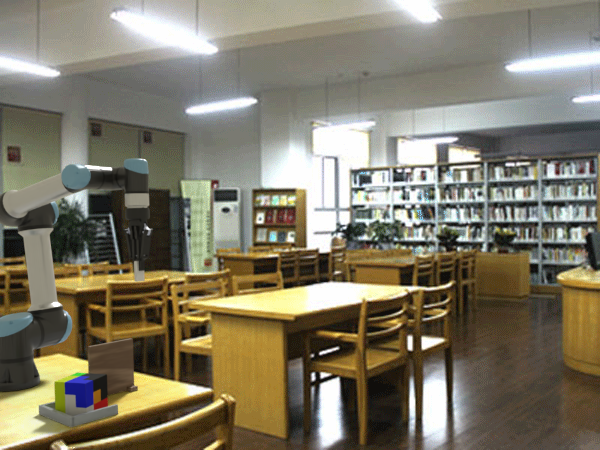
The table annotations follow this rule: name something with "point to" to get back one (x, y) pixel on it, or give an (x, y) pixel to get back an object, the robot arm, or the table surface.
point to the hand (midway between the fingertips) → (139, 281)
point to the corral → (79, 419)
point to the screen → (114, 364)
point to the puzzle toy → (81, 393)
